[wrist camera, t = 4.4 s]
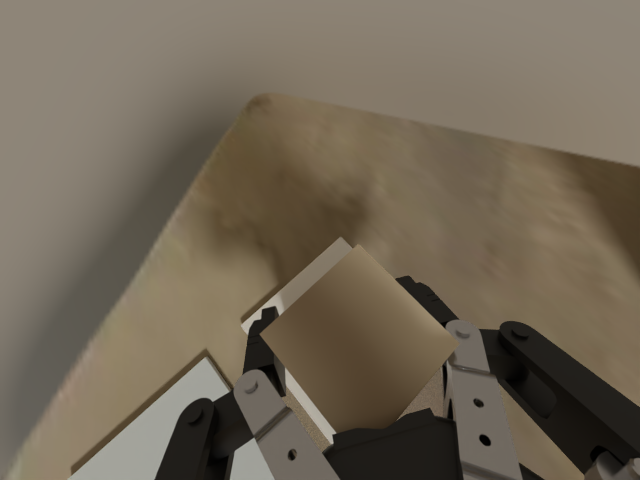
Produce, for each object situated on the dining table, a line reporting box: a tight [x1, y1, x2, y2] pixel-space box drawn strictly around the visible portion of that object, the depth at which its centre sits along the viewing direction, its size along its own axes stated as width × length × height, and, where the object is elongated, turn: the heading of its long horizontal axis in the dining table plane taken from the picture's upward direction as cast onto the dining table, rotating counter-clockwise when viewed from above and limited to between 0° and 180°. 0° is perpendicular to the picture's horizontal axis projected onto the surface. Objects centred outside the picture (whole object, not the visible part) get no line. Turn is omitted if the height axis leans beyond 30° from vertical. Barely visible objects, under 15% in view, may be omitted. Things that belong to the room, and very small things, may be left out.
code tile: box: [241, 237, 353, 444], centre depth 17 cm, size 10×10×1 cm
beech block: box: [260, 244, 460, 433], centre depth 13 cm, size 5×5×9 cm
